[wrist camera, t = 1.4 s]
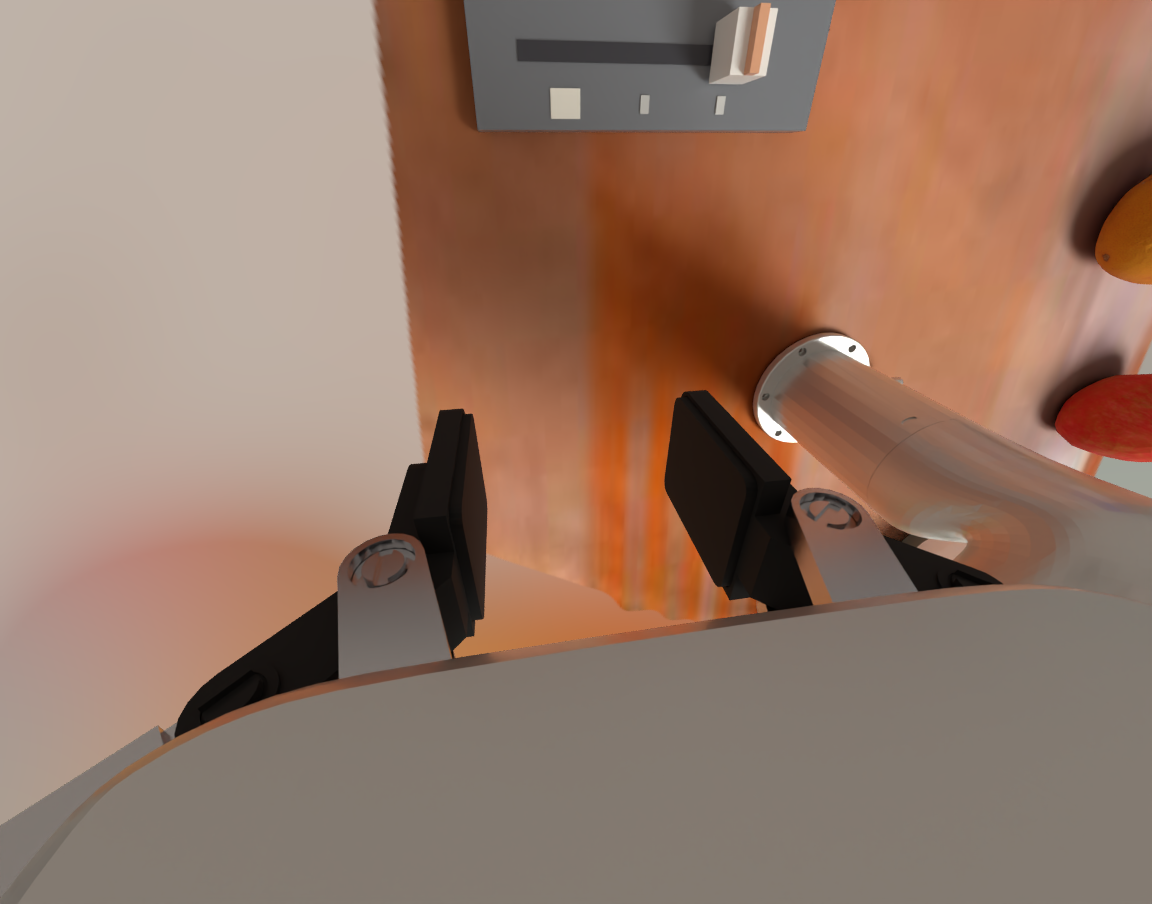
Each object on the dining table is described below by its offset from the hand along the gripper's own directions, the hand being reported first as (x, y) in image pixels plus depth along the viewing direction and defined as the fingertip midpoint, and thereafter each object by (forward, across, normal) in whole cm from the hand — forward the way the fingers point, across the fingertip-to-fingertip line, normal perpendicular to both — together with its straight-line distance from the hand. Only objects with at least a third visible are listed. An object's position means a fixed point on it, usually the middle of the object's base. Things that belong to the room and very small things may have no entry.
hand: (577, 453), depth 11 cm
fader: (+27, -15, -12) cm, 33 cm away
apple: (+30, -70, +19) cm, 78 cm away
